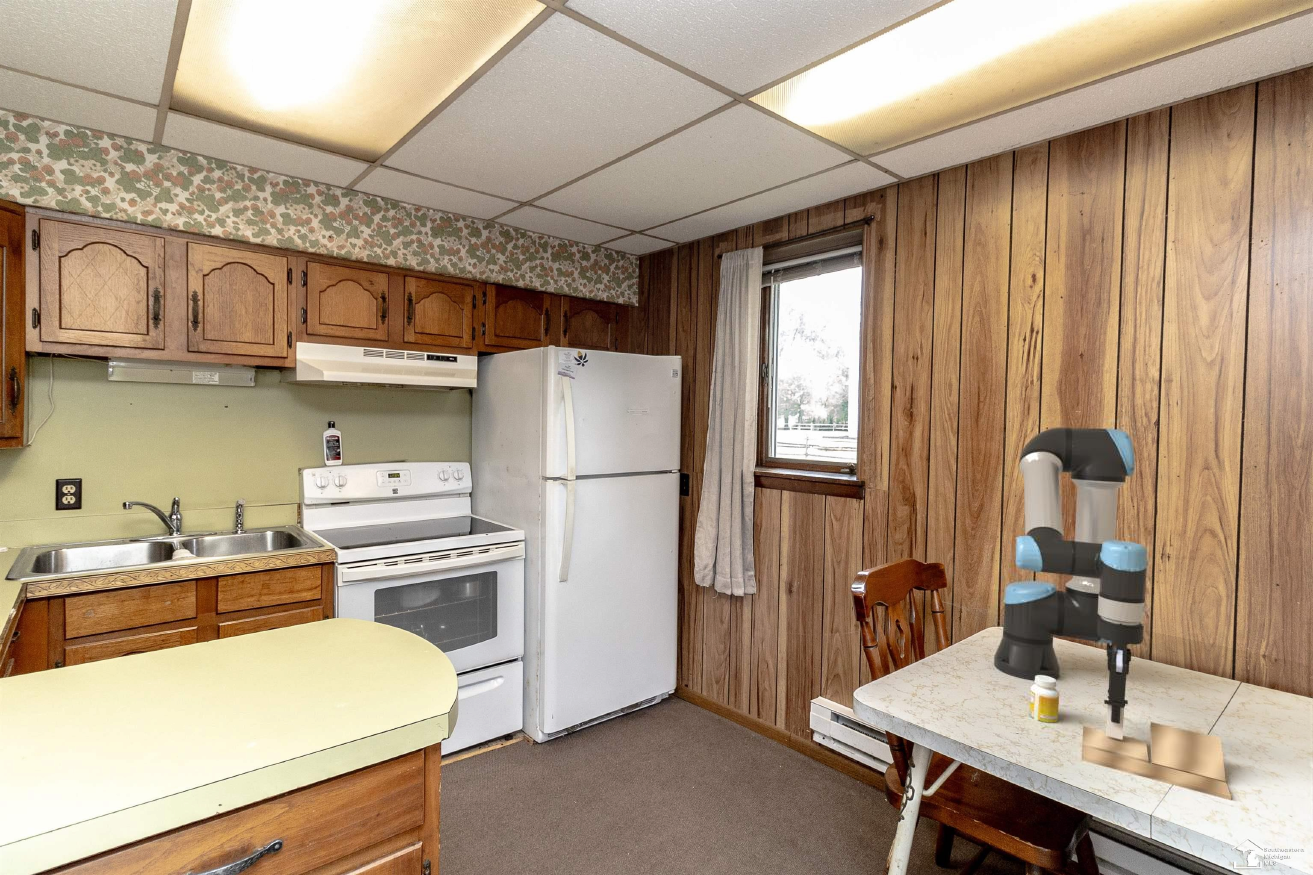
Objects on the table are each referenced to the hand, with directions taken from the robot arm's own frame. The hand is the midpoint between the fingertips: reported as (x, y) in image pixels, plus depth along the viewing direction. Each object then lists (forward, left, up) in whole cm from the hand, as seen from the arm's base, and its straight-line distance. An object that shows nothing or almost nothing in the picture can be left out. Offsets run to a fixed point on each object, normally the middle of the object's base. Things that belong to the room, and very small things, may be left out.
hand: (1114, 736), depth 131 cm
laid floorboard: (+6, -10, -3) cm, 11 cm away
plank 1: (0, -1, -2) cm, 3 cm away
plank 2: (+11, -2, +1) cm, 11 cm away
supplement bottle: (-12, +5, -3) cm, 14 cm away
